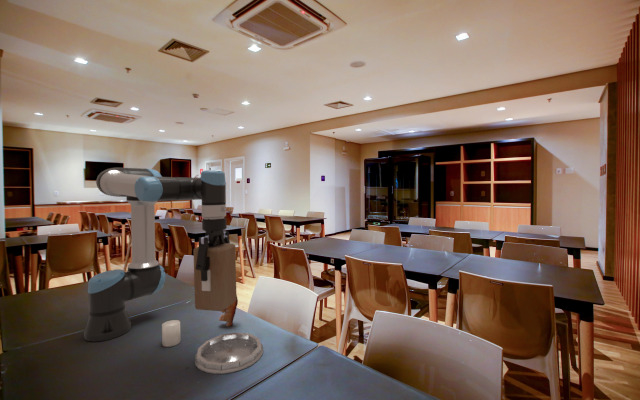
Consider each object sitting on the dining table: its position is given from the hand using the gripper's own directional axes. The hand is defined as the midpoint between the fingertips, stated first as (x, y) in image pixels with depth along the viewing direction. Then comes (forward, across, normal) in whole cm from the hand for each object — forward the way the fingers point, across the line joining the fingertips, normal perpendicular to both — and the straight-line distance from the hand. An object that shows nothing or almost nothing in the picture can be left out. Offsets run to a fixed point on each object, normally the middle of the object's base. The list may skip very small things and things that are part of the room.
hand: (216, 285), depth 100 cm
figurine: (+24, +21, +8) cm, 33 cm away
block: (+7, 0, 0) cm, 7 cm away
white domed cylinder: (+24, +5, +22) cm, 33 cm away
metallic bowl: (+24, +3, -3) cm, 25 cm away
